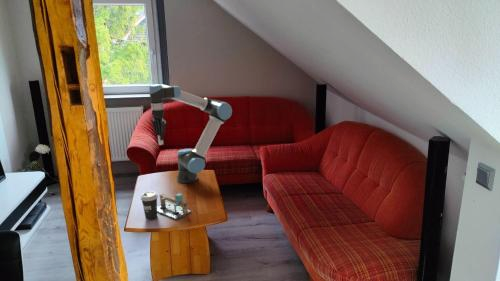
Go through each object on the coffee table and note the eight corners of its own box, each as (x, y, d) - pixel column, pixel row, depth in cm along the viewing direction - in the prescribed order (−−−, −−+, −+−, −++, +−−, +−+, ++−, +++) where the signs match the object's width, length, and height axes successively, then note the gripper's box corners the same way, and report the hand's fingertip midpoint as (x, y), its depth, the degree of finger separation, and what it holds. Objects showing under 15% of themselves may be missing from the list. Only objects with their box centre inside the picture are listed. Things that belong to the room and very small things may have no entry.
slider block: (180, 208, 224) (179, 193, 221) (183, 210, 222) (182, 194, 219) (173, 212, 219) (171, 196, 216) (176, 213, 218) (175, 197, 215)
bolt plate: (167, 203, 235) (167, 201, 234) (191, 212, 222) (191, 210, 221) (152, 210, 226) (151, 208, 225) (176, 220, 213) (175, 218, 212)
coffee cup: (144, 214, 221) (142, 191, 217) (160, 213, 222) (158, 190, 217) (141, 222, 212) (138, 198, 207) (158, 220, 212) (155, 197, 208)
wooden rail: (163, 203, 232) (162, 193, 231) (187, 212, 219) (186, 202, 217) (157, 206, 228) (156, 196, 227) (181, 216, 215) (180, 205, 214)
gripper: (146, 109, 235) (150, 144, 242) (159, 111, 228) (163, 147, 234) (155, 107, 241) (159, 141, 247) (168, 109, 233) (172, 144, 240)
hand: (161, 144), depth 241 cm, fingers closed
